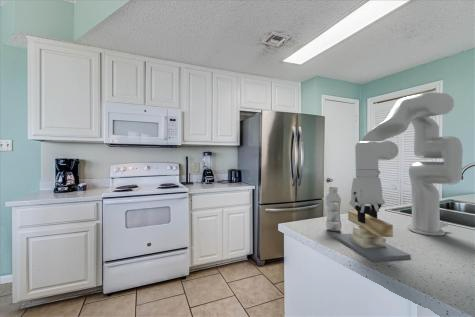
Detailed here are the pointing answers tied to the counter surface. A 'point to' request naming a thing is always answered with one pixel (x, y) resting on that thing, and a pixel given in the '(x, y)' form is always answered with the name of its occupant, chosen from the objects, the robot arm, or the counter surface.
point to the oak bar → (372, 224)
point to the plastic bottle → (333, 210)
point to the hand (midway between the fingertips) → (367, 221)
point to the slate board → (374, 250)
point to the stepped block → (366, 238)
